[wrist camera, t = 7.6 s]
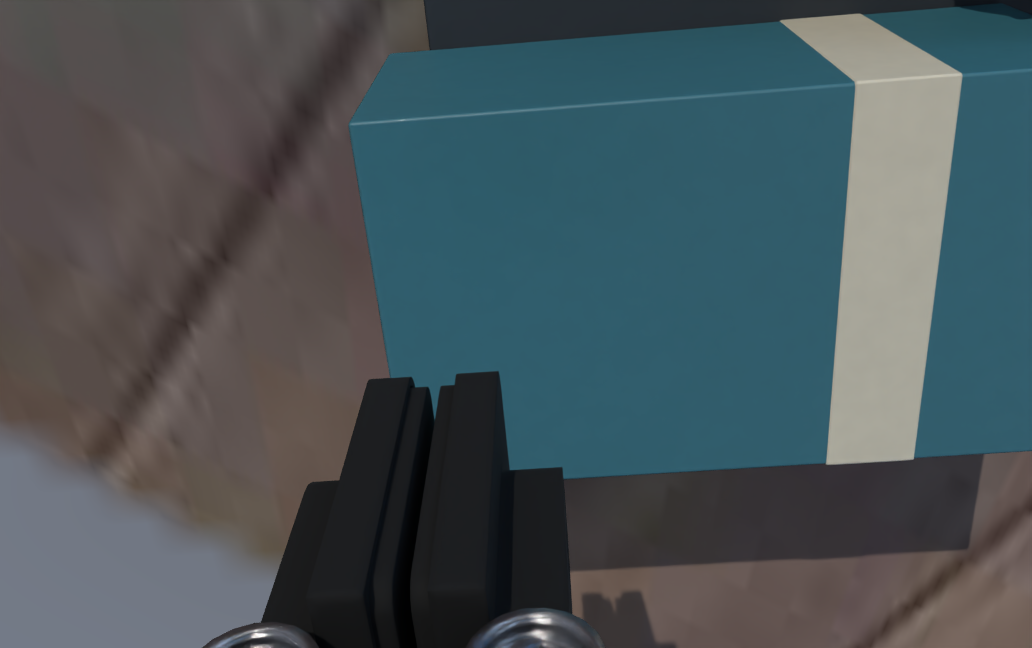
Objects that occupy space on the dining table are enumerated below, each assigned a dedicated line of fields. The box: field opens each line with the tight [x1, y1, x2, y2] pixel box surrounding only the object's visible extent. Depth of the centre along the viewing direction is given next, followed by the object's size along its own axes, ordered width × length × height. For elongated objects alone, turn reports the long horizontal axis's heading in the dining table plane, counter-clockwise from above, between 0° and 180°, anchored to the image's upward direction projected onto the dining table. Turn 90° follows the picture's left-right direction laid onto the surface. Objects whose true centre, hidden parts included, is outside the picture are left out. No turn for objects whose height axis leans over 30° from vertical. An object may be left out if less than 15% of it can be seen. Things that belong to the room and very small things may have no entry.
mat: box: [424, 0, 1032, 50], centre depth 21 cm, size 20×12×1 cm, turn 95°
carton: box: [348, 3, 1032, 479], centre depth 18 cm, size 5×7×12 cm
